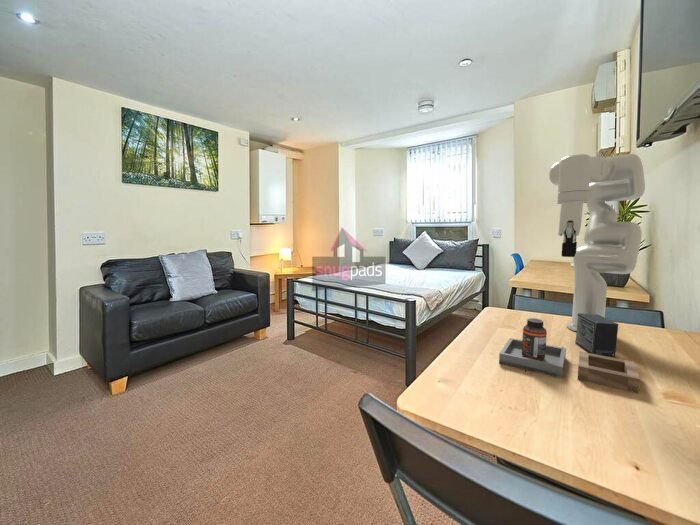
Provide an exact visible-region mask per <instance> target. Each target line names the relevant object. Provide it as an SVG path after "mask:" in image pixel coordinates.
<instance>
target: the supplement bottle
mask: <svg viewBox="0 0 700 525" xmlns="http://www.w3.org/2000/svg"><path fill="white" fill-rule="evenodd" d="M547 332H548V331H547V329H546V328H545V327H544V320H542V319H539V318H535V317H534V318H533V317H532V318H527V320H526V324H525V325H523V328H522V339H521V340H522V356H523V357H525V358H530V359H534V360H539V361H542V360H544V359H545V351H546V345H547Z"/></svg>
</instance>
